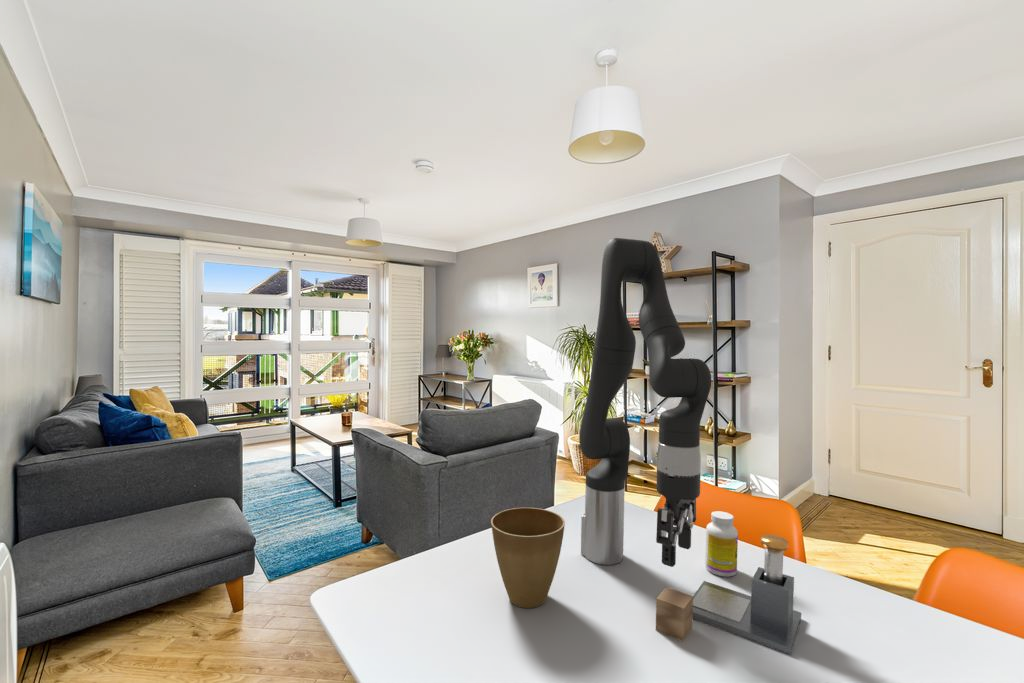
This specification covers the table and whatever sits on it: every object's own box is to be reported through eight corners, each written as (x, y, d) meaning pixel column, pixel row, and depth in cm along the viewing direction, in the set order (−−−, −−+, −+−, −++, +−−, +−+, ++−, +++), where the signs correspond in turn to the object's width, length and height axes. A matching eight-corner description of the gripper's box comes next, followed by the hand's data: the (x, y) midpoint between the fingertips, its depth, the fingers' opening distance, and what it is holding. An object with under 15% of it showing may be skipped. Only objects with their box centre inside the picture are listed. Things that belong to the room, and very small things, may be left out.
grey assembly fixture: (683, 614, 93) (685, 567, 92) (703, 586, 103) (705, 544, 103) (790, 655, 82) (792, 602, 81) (801, 618, 92) (802, 571, 92)
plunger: (756, 599, 89) (758, 540, 88) (761, 588, 92) (763, 532, 92) (783, 607, 86) (786, 547, 86) (787, 597, 89) (789, 538, 89)
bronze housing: (655, 630, 88) (656, 598, 88) (665, 617, 92) (666, 586, 92) (683, 641, 85) (684, 608, 85) (692, 627, 89) (693, 596, 89)
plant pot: (572, 588, 101) (574, 513, 101) (547, 628, 88) (549, 542, 87) (509, 572, 108) (510, 501, 107) (476, 607, 94) (477, 526, 94)
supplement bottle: (740, 579, 106) (742, 522, 105) (708, 576, 107) (710, 519, 107) (732, 564, 112) (734, 510, 112) (702, 561, 114) (704, 508, 113)
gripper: (671, 456, 95) (670, 537, 96) (643, 473, 84) (641, 564, 84) (711, 463, 91) (709, 548, 91) (686, 481, 79) (684, 578, 80)
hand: (676, 556), depth 88 cm, fingers open, 8 cm apart
